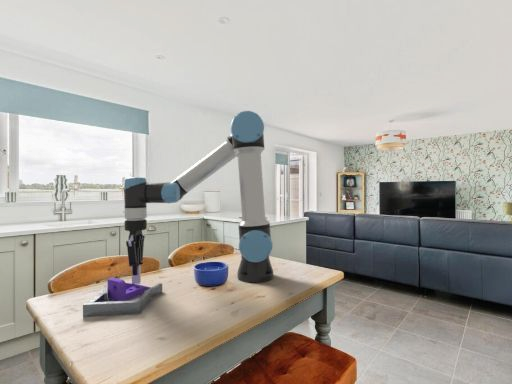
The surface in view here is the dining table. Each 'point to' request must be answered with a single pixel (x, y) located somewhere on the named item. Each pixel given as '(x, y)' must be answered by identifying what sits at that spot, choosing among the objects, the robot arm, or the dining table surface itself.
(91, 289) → the dining table surface
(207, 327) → the dining table surface
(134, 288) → the bracket
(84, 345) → the dining table surface
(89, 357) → the dining table surface
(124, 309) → the spouted tray
